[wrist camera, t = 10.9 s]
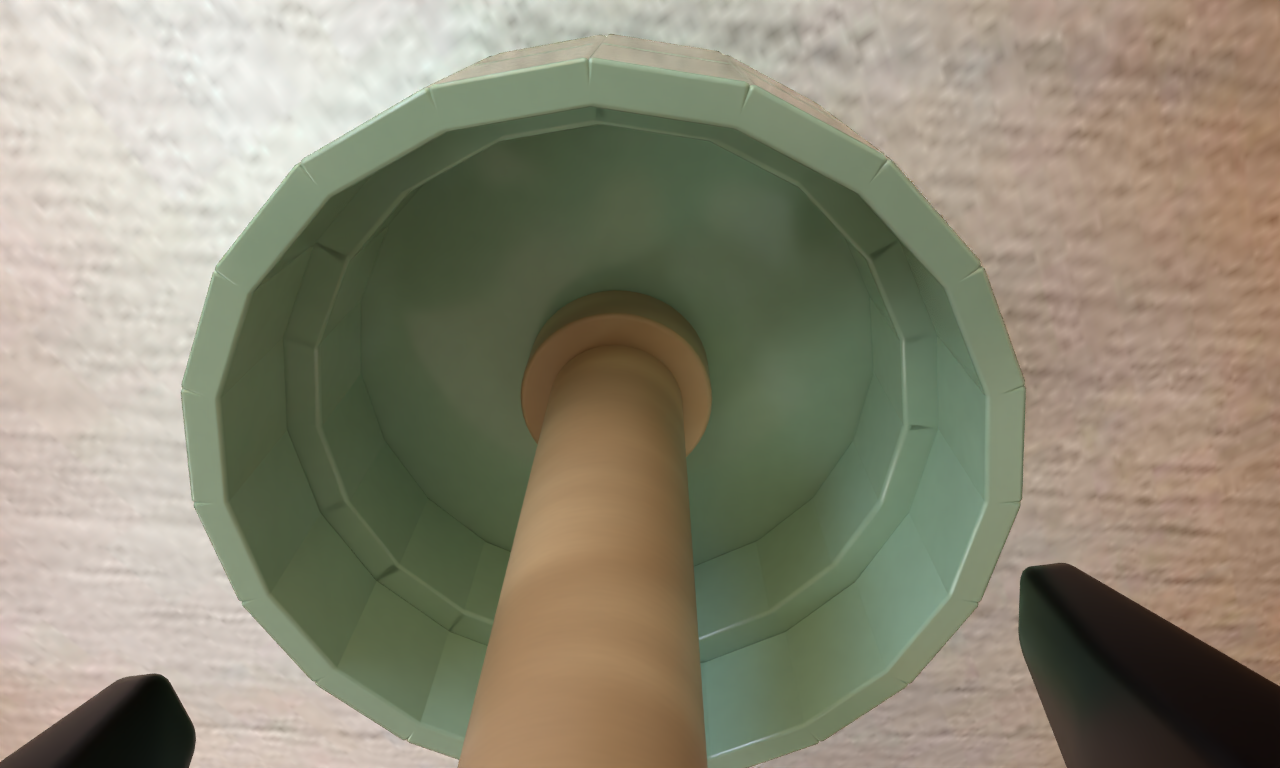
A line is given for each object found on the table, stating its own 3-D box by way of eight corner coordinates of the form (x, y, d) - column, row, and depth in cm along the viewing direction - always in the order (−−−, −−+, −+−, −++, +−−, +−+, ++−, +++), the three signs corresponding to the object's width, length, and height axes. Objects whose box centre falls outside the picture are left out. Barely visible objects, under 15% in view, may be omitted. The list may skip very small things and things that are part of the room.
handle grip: (694, 275, 14) (839, 1302, 3) (718, 438, 16) (877, 1547, 5) (511, 303, 14) (56, 1344, 3) (549, 461, 16) (317, 1560, 5)
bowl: (906, -24, 13) (1042, -26, 8) (922, 550, 18) (1015, 748, 13) (229, 99, 14) (24, 158, 9) (417, 614, 18) (341, 819, 14)
